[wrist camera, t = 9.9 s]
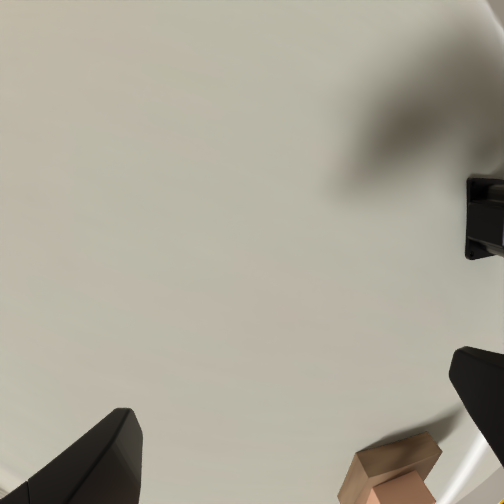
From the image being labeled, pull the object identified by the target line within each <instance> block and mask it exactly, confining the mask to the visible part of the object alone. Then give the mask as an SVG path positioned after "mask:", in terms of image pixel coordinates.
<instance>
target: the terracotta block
mask: <svg viewBox="0 0 504 504" xmlns="http://www.w3.org/2000/svg"><path fill="white" fill-rule="evenodd" d="M435 503H436V500H435V499H434V497H433V496H432V494H431V493H430V491H429V490H428V488H427V487H426V485H425V484H424V482H423V480H422V479H421V477H420V476H419V474H418V473H417V471H416V470H414V471H412V472H410V473H407V474H405V475H403V476H400V477H398V478H396V479H393V480H391V481H388V482H386V483H383V484H380V485H378V486H375V487H372V489H371V492H370V495H369V497H368V500H367V503H366V504H435Z"/></svg>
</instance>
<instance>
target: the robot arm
mask: <svg viewBox="0 0 504 504" xmlns="http://www.w3.org/2000/svg"><path fill="white" fill-rule="evenodd" d="M470 253H471V254H470ZM494 255H499V256H502V257H504V180H500V179H485V178H468V180H467V229H466V248H465V257H466V258H467V259H469V260H475V259H480V258H485V257H489V256H494ZM449 379H450V381H451V383H452V384H453V386H454V388H455V390H456V391H457V393H458V395H459V397H460V398H461V400H462V402H463V404H464V406H465V408H466V409H467V411H468V413H469V415H470V416H471V418H472V419H473V421H474V422H475V424H476V425H477V427H478V428H479V430H480V431H481V433H482V434H483V436H484V437H485V439H486V440H487V442H488V443H489V445H490V447H491V448H492V450H493V451H494V453H495V455H496V456H497V458H498V459H499V461H500V463H501V464H502V466H503V467H504V354H499V353H495V352H490V351H486V350H482V349H477V348H473V347H468V346H464V347H462V348H459V349H457V350H456V351H455V352H454V354H453V358H452V362H451V366H450V370H449ZM142 445H143V434H142V430H141V427H140V425H139V423H138V420H137V418H136V416H135V413H134V411H133V410H132V409H131V408H116V409H114V410H113V411H112V412H111V413H110V414H108V415H107V416H106V417H105V418H104V419H102V420H101V421H100V422H99V423H98V424H96V425H95V426H94V427H93V428H92V429H90V430H89V431H88V432H87V433H85V434H84V435H83V436H82V437H81V438H79V439H78V440H77V441H76V442H74V443H73V444H72V445H71V446H70V447H68V448H67V449H66V450H65V451H63V452H62V453H61V454H60V455H58V456H57V457H56V458H55V459H53V460H52V461H51V462H50V463H48V464H47V465H46V466H45V467H43V468H42V469H41V470H40V471H38V472H37V473H36V474H34V475H33V476H32V477H31V478H29V479H28V482H27V481H25V482H24V483H23V484H21V485H20V486H19V487H17V488H16V489H15V490H13V491H12V492H11V493H9V494H8V495H6V496H5V497H4V498H2V499H0V504H138V503H139V496H140V489H141V469H142Z"/></svg>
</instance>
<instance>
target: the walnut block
mask: <svg viewBox="0 0 504 504" xmlns="http://www.w3.org/2000/svg"><path fill="white" fill-rule="evenodd" d="M442 452H443V451H442V450H441V449H440V448H439V446H438V445H437V444H436V442H435V441H434V440H433V439H432V437H431V436H430V435H429V434H428V432H424V433H421V434H418V435H416V436H413V437H410V438H407V439H403V440H400V441H397V442H394V443H390V444H387V445H383V446H380V447H376V448H372V449H369V450H365V451H360V452H356V453H355V456H354V458H353V461H352V463H351V466H350V468H349V470H348V473H347V475H346V478H345V480H344V482H343V485H342V487H341V489H340V491H339V493H338V496H337V497H338V499H339V502H340V504H366V503H367V500H368V497H369V495H370V492H371V489H372V487H375V486H378V485H380V484H383V483H386V482H388V481H391V480H393V479H396V478H398V477H400V476H403V475H405V474H407V473H410V472H412V471H414V470H416V471H417V473H418V474H419V476H420V477H421V479H422V480H423V481H424V480H425V479H426V477H427V476H428V474H429V473H430V471H431V469H432V468H433V466H434V465H435V463H436V462H437V460H438V458H439V457H440V455H441V453H442Z"/></svg>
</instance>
